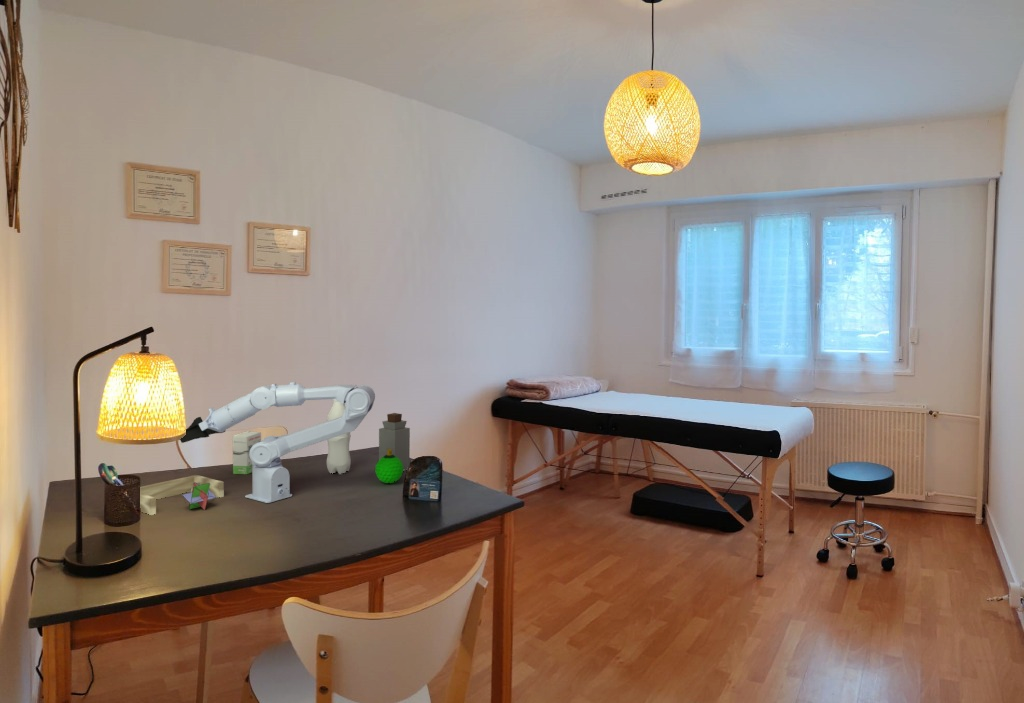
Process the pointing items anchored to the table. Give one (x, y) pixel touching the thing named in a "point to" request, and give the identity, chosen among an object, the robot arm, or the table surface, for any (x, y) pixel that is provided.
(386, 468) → the ornament
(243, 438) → the ink box
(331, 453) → the water bottle
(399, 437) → the perfume bottle
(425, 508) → the table surface
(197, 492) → the geometric puzzle
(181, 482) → the beige piece
